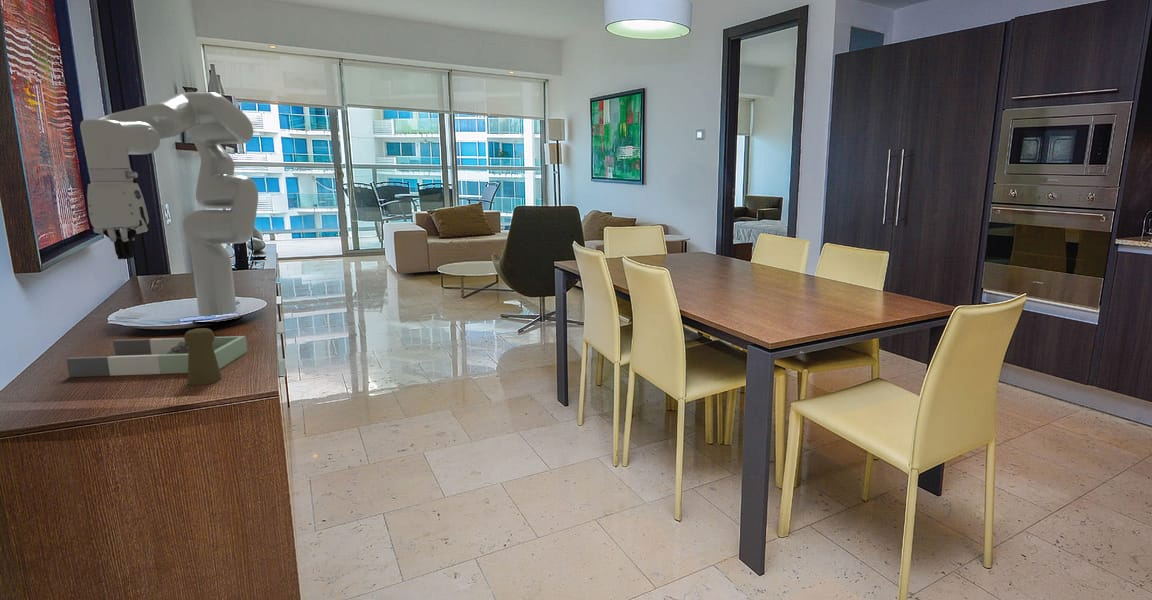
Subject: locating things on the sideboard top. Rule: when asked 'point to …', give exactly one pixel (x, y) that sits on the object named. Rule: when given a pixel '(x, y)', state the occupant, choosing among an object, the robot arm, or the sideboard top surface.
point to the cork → (201, 357)
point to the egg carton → (179, 349)
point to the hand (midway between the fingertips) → (126, 258)
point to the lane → (151, 357)
